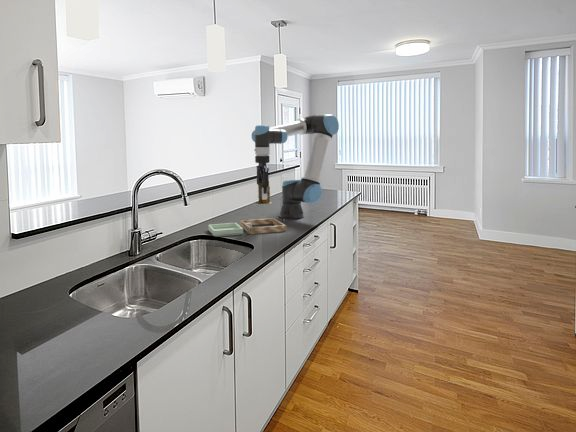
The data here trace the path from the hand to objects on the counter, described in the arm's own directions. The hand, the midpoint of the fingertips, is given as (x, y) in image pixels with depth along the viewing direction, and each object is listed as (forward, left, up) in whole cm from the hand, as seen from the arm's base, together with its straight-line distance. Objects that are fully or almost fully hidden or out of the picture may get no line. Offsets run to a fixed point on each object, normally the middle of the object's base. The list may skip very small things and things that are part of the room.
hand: (262, 198), depth 218 cm
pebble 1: (+7, -5, -17) cm, 19 cm away
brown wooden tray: (0, 0, -16) cm, 17 cm away
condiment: (0, 0, -3) cm, 3 cm away
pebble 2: (-6, +6, -17) cm, 19 cm away
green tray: (+21, +2, -16) cm, 27 cm away
